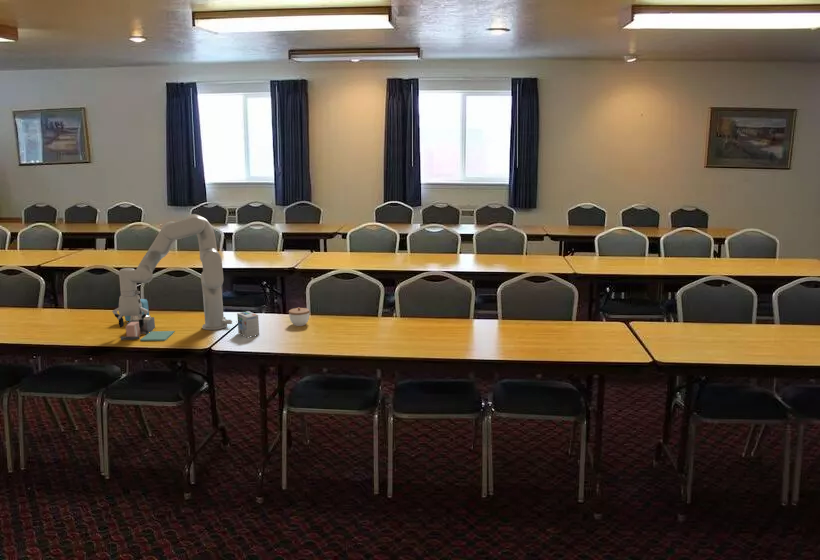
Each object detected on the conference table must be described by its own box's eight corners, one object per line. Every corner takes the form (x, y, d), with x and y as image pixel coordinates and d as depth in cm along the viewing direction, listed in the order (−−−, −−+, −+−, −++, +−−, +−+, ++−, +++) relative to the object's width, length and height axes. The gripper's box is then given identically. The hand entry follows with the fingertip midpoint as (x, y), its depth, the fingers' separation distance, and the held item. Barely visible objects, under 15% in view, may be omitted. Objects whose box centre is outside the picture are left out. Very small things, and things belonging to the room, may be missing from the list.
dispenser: (155, 328, 344) (153, 313, 343) (140, 339, 325) (138, 323, 323) (136, 328, 344) (134, 313, 342) (119, 340, 325) (118, 324, 323)
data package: (149, 320, 360) (147, 299, 357) (145, 322, 355) (142, 301, 353) (130, 319, 362) (127, 298, 359) (125, 321, 357) (122, 300, 355)
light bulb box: (238, 333, 334) (236, 312, 331) (250, 331, 338) (248, 310, 336) (247, 338, 326) (246, 317, 323) (260, 335, 330) (258, 314, 328)
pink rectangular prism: (140, 335, 333) (139, 321, 331) (135, 339, 326) (133, 325, 324) (132, 335, 333) (131, 321, 331) (126, 339, 326) (125, 325, 324)
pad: (174, 332, 336) (174, 331, 336) (165, 340, 323) (164, 339, 322) (151, 332, 336) (151, 331, 336) (140, 341, 322) (140, 339, 322)
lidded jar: (285, 326, 345) (285, 309, 343) (295, 321, 355) (294, 304, 353) (304, 328, 342) (303, 310, 340) (313, 322, 352) (312, 305, 350)
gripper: (149, 291, 328) (151, 324, 332) (114, 291, 328) (117, 324, 331) (143, 295, 321) (146, 329, 324) (108, 294, 321) (110, 328, 324)
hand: (131, 326), depth 328 cm, fingers open, 9 cm apart
